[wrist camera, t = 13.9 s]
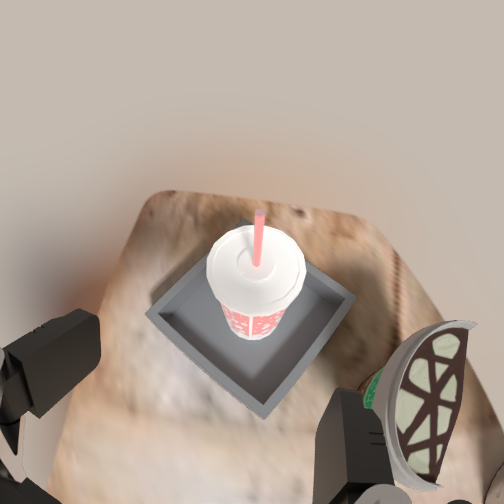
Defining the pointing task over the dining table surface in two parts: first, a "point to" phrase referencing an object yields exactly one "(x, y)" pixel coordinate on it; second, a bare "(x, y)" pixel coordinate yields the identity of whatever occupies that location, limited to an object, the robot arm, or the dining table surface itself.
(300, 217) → the dining table surface
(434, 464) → the food container
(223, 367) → the tray
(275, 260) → the beverage cup
